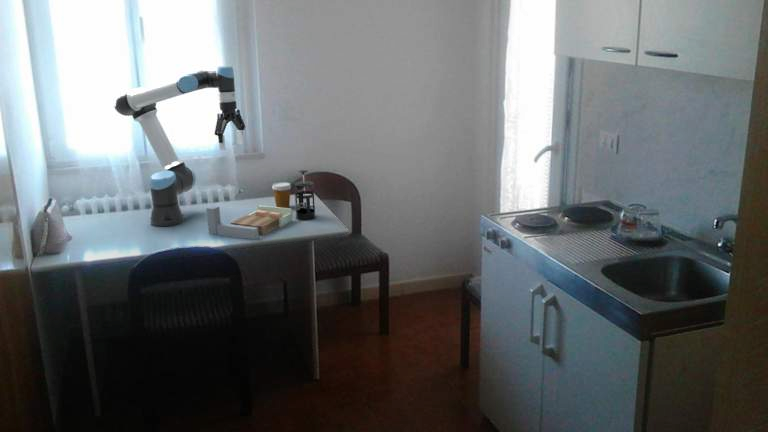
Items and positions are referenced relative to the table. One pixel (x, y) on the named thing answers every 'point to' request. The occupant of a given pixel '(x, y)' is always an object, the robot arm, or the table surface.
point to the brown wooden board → (258, 223)
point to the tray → (285, 212)
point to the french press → (304, 207)
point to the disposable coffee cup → (282, 194)
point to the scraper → (228, 226)
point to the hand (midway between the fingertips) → (231, 146)
